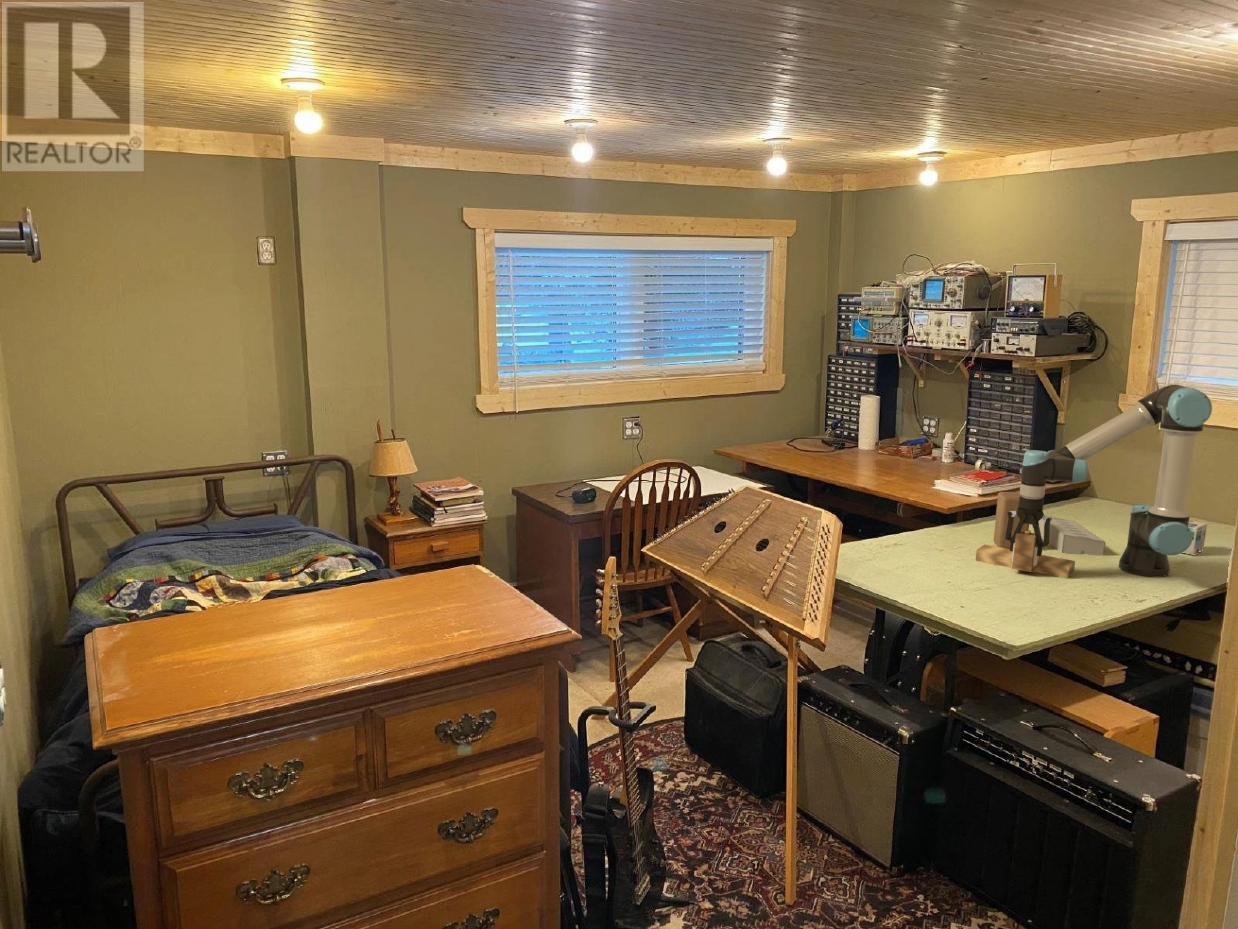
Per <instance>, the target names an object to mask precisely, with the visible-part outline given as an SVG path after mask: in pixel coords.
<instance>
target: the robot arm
mask: <svg viewBox="0 0 1238 929" xmlns="http://www.w3.org/2000/svg"><path fill="white" fill-rule="evenodd" d="M1212 405H1213V404H1212V401H1211V399H1210V397H1208V395H1207V394H1206V393H1204V392H1203V391H1201V390H1199V389H1197V388H1195V387H1190V386H1189V387H1188V386H1184V385H1180V384H1171V385H1166V386H1163V387H1161V388H1158V389H1157V390H1154V391H1153V392H1151V393H1149V394H1147V395H1146V396H1144V397H1143V398H1141V399H1139V400H1137V401H1136V402H1135V404H1134V405H1133V407H1130V408H1129V409H1128V410H1126V411H1124V412H1122V413H1120V414H1118V415H1117V416H1115V417H1113V418H1111V419H1110V420H1107V421H1106V422H1104V423H1103V424H1100V425H1099V426H1098V427H1096V428H1094V429H1092V430H1090V431H1088V432H1087V433H1085V434H1083V435H1082V436H1080V437H1078V438H1076V439H1074V440H1072V441H1071V442H1069V443H1068V444H1066V445H1064V446H1062V447H1060V448H1058V449H1057V450H1056V449H1051V450H1048V451H1045V450H1036V449H1033V450H1032V449H1030V450H1026V451H1025V452H1024V455H1023V460H1022V468H1021V470H1022V471H1021V480H1020V481H1021V482H1020V487H1019V493H1020V495H1021V496H1020V497H1019V504H1018V509H1017V510H1016V511H1009V512H1008V518H1009V519H1008V525H1007V530H1006V536H1005V539H1006V540H1009V541H1010V542H1011V544H1010V551H1012V552H1013V555H1012V562H1013V556H1014V546H1015V537H1016V534H1017V533H1019V532H1020V531H1021V529H1022V527H1023V525H1024V524H1029V525H1032V528H1033V533H1035V536H1036V542H1037V546H1036V547H1035V551H1034V560H1033V566H1036V565H1037V562H1038V556H1039V557H1040V556H1041V555H1043V547H1048V546H1050V543H1049V534H1050V522H1051V520H1052V516H1048V515H1046V514H1044V511H1043V510H1044V503H1045V501H1044V500H1045V499H1044V497H1045V493H1046V484H1047V481H1056V482H1057V481H1058V482H1069V483H1070V482H1072V483H1079V482H1080V483H1082V482H1084V481H1086V479H1087V477H1088V475H1089V474H1088V473H1089V465H1088V462H1087V461H1086V460H1088V459H1089V458H1091V457H1093V456H1096V455H1097V454H1098V453H1100V452H1102V451H1104V450H1106V449H1108V448H1110V447H1111V446H1113V445H1115V444H1117V443H1118V442H1120V441H1122V440H1124V439H1126V438H1127V437H1130V436H1132V435H1133V434H1135V433H1137V432H1139V431H1140V430H1142V429H1144V428H1146V427H1147V426H1150V427H1154V426H1156V425H1158V424H1160V425H1159V429H1160V430H1161V431H1162V432H1163V441H1162V449H1161V457H1160V463H1159V470H1158V476H1157V484H1156V490H1155V497H1154V504H1135V505H1133V506H1132V508H1131V512H1130V519H1129V520H1130V521H1129V528H1128V537H1127V543H1126V544H1127V545H1126V547H1125V549H1124V551H1123V553H1122V555H1121V556H1120V558H1119V561H1118V568H1119V569H1120V570H1122V571H1124V572H1126V573H1130V574H1134V575H1136V576H1137V575H1138V576H1142V577H1143V576H1144V577H1152V578H1153V577H1154V576H1163V577H1165V576H1164V575H1167V576H1169V575H1170V571H1171V566H1170V562H1169V558H1168V556H1177V555H1181V554H1182V552H1184V551H1185V550H1187V549H1188V548H1189V546H1190V545H1191V543H1192V538H1193V537H1192V532H1191V530H1190V528H1189V527H1188V525H1189V521H1190V517H1191V515H1190V513H1189V512H1188V511H1187V510H1186V506H1187V498H1188V491H1189V484H1190V479H1191V472H1192V466H1193V459H1194V453H1195V452H1194V451H1195V444H1196V437H1197V436H1199V435H1200V434H1201V433H1203V430H1204V426H1205V425H1204V424H1205V423H1206V422H1207V421H1208V420H1209V419H1210V417H1211V415H1212V412H1213V406H1212ZM1016 514H1017V515H1018V517H1019V519H1020V521H1019V523H1018V526H1017V528H1016V530H1015V532H1014V534H1013V536H1012V537H1011V533H1012V528H1013V522H1014V517H1015V516H1016ZM1042 518H1043V522H1045V524H1044V539H1043V538H1042V537H1041V533H1040V528H1039V522H1038V521H1039V520H1041V519H1042ZM1168 574H1169V575H1168Z"/></svg>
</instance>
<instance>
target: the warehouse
mask: <svg viewBox="0 0 1238 929" xmlns="http://www.w3.org/2000/svg"><path fill="white" fill-rule="evenodd" d="M1051 517H1052V516H1051ZM1038 522H1039V528H1040V533H1041V537H1043V538H1044V524H1045V522H1043V518H1042V519H1041V520H1039V521H1038ZM1043 538H1042V539H1043ZM1051 544H1052V545H1051ZM1049 545H1051V546H1052V547H1053V546H1054V547H1053V548H1054V549H1056V548H1057V549H1056V550H1057V551H1058V550H1059V551H1058V552H1060V551H1061V552H1062V553H1066V554H1065V555H1083V554H1088V555H1087V556H1102V555H1104V553H1105V549H1106V548H1105V547H1106V541H1104V539H1102V538H1101V537H1099V536H1097V535H1096V534H1094V533H1093V532H1092V531H1090V530H1088V529H1087V528H1085V527H1084V526H1083V525H1081V524H1080V523H1078V522H1077V521H1075V520H1072V519H1071V520H1069V519H1064V518H1059V517H1058V518H1057V517H1052V520H1051V522H1050V534H1049ZM1061 552H1060V553H1061ZM1062 553H1061V554H1062Z"/></svg>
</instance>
